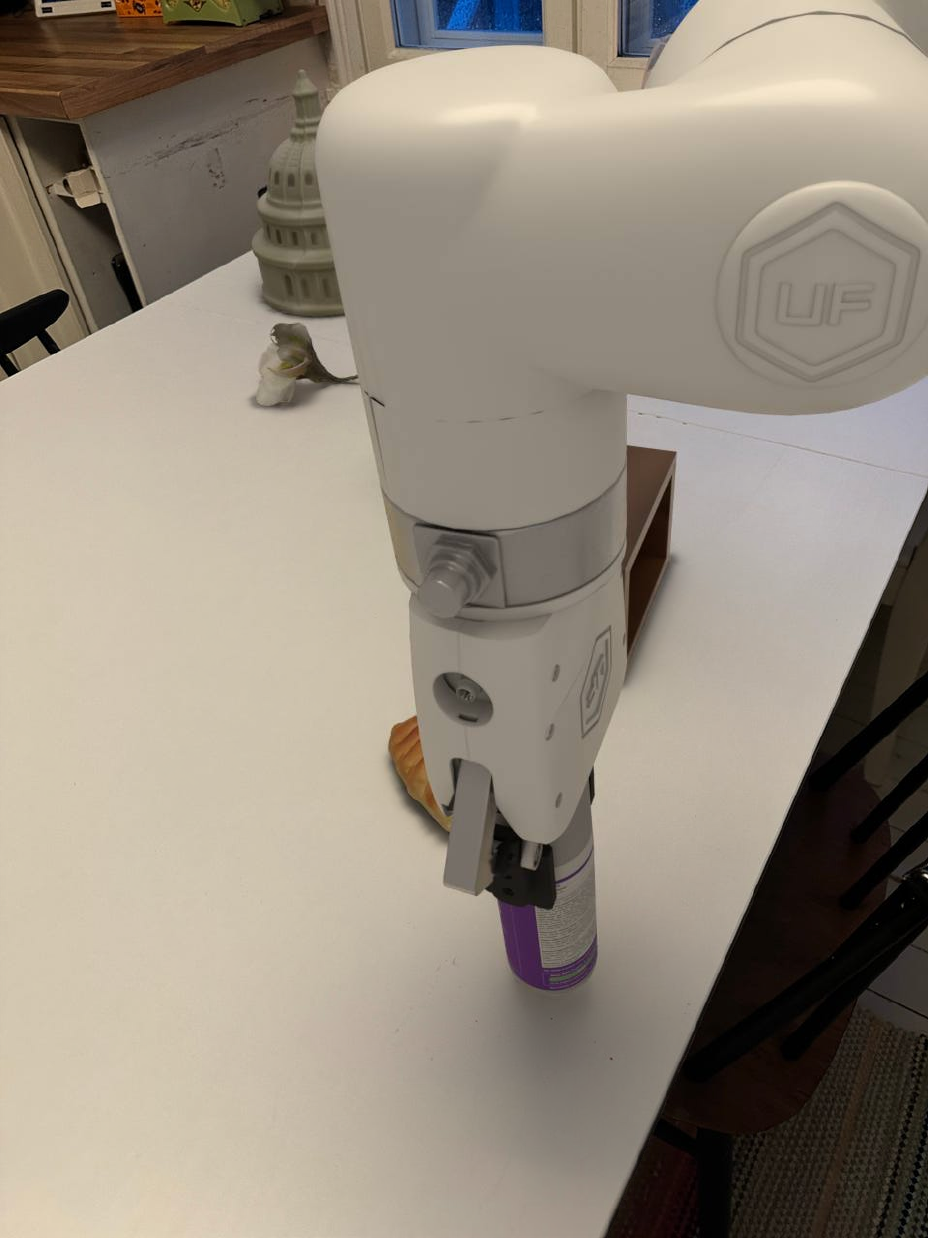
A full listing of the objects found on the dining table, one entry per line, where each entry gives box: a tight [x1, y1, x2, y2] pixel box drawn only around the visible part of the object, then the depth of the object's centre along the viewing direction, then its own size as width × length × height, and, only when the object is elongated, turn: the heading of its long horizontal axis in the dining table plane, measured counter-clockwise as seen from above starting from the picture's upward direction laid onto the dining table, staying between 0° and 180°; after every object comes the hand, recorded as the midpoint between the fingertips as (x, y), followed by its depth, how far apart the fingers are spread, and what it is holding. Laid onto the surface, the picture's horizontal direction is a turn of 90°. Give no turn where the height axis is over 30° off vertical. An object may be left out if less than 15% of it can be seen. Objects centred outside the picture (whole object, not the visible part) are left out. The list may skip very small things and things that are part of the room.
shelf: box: [622, 444, 678, 666], centre depth 68 cm, size 11×14×10 cm
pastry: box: [387, 714, 452, 833], centre depth 58 cm, size 9×7×4 cm
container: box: [495, 778, 599, 996], centre depth 43 cm, size 5×5×15 cm
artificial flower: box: [255, 322, 359, 407], centre depth 97 cm, size 9×22×10 cm, turn 78°
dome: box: [251, 69, 345, 317], centre depth 114 cm, size 20×25×20 cm
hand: (540, 841), depth 41 cm, fingers closed on container, 4 cm apart
